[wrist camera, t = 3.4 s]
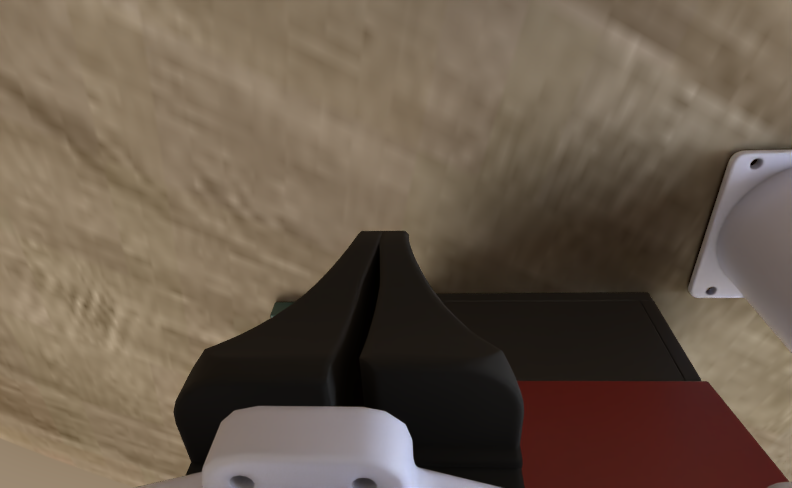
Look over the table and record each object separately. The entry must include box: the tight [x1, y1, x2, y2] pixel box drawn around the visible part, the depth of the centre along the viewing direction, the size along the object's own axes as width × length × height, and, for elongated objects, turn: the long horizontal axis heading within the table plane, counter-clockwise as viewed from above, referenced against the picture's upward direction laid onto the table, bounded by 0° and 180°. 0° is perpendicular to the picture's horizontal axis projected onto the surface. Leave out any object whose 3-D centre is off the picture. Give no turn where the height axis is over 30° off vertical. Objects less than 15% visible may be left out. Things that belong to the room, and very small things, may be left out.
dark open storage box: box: [436, 293, 701, 381], centre depth 28 cm, size 10×12×6 cm
